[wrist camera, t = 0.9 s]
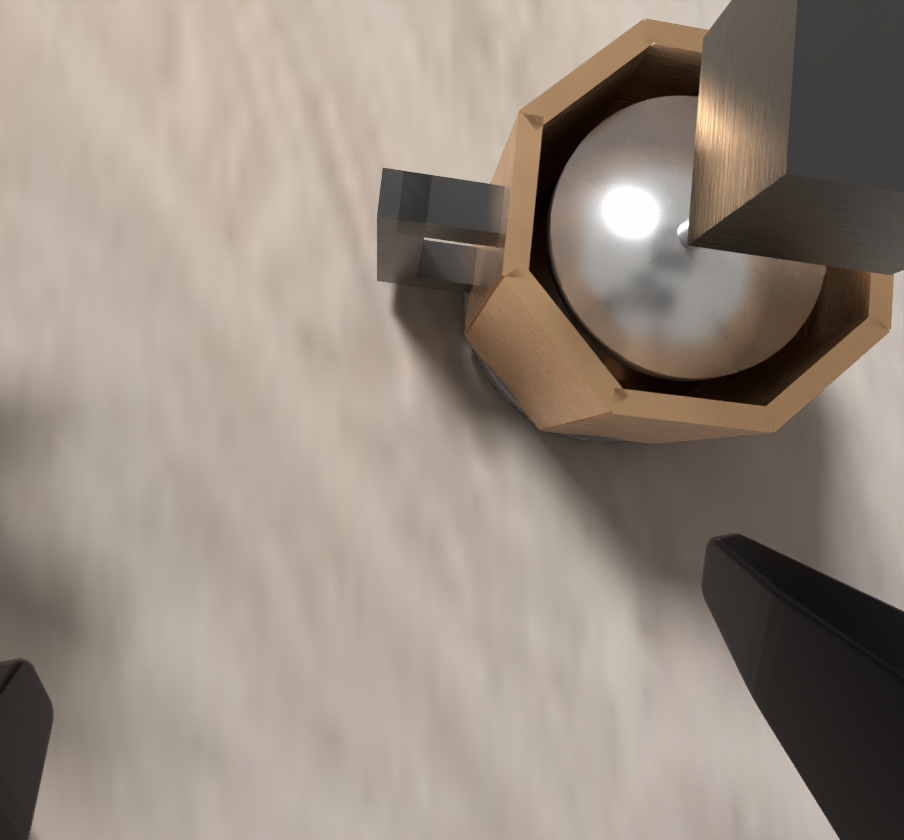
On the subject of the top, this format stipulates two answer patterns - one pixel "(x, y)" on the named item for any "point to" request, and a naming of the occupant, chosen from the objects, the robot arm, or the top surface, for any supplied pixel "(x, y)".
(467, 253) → the octagonal wooden mug
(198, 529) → the top surface
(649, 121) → the grey cube on disc
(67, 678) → the top surface
